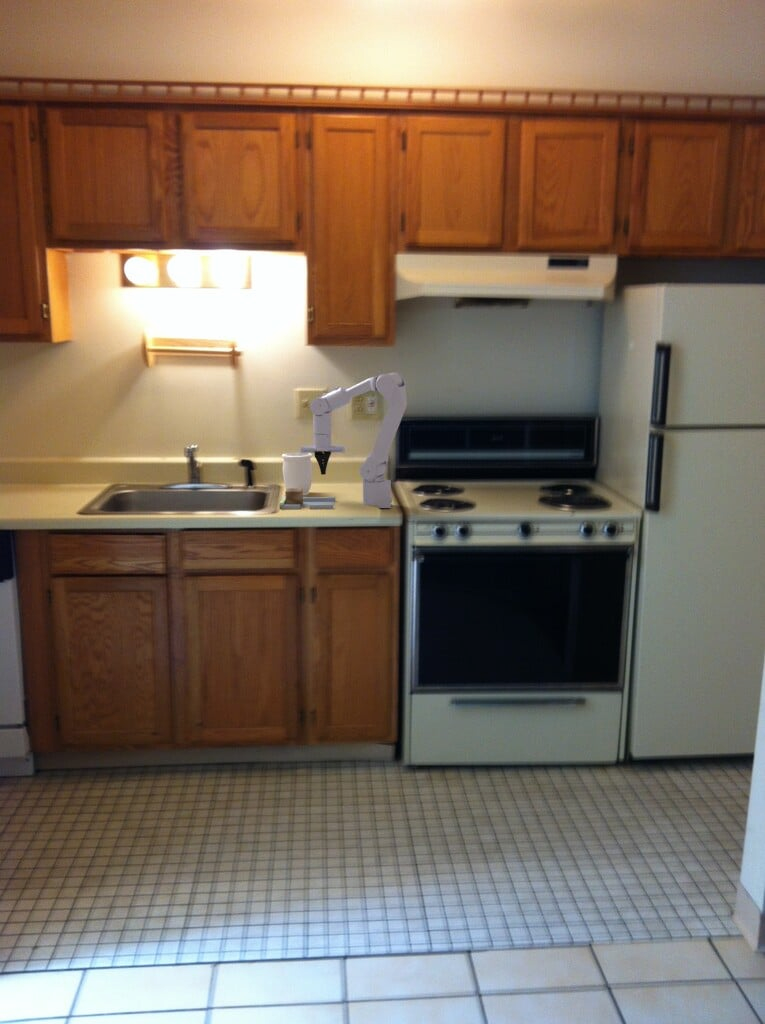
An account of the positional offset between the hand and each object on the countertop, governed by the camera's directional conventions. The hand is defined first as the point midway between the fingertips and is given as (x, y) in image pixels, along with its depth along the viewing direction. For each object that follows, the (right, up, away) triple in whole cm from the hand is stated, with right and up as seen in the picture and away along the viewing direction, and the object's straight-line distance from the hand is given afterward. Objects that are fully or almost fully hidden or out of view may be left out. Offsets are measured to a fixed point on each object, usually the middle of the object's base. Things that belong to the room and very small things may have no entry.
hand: (323, 474), depth 283 cm
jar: (-10, -7, +13) cm, 18 cm away
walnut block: (-9, -10, -6) cm, 15 cm away
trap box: (-5, -11, -5) cm, 14 cm away
